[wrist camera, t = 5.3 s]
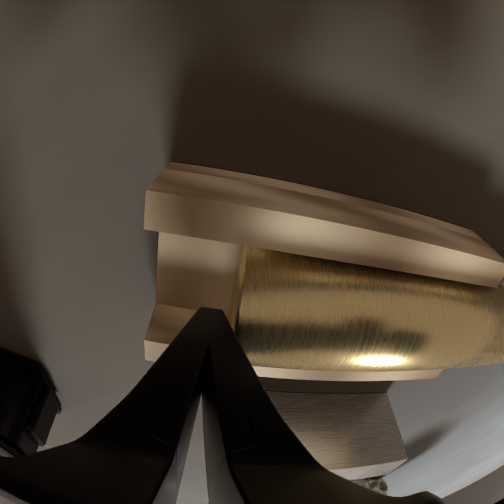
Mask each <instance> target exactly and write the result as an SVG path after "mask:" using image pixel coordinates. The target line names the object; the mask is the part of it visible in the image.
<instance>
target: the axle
mask: <svg viewBox="0 0 504 504" xmlns="http://www.w3.org/2000/svg"><path fill="white" fill-rule="evenodd" d="M229 323H230V325H231V327H232V329H233V331H234V333H235V334H236V336H237V338H238V340H239V342H240V344H241V346H242V348H243V350H244V352H245V353H246V355H247V357H248V359H249V361H250V363H251V365H252V366H259V367H271V368H283V369H299V370H318V371H355V372H380V371H415V370H433V369H448V368H459V367H470V366H479V365H487V364H495V363H502V362H504V286H502V285H499V286H498V288H494V287H488V286H482V285H477V284H471V283H465V282H459V281H453V280H448V279H442V278H436V277H430V276H424V275H418V274H412V273H407V272H401V271H395V270H389V269H383V268H377V267H371V266H365V265H359V264H353V263H347V262H341V261H335V260H329V259H323V258H317V257H311V256H305V255H299V254H293V253H287V252H281V251H275V250H269V249H263V248H256V247H250V246H244V245H243V247H242V250H241V253H240V257H239V261H238V265H237V270H236V276H235V281H234V287H233V294H232V301H231V308H230V316H229Z"/></svg>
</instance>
